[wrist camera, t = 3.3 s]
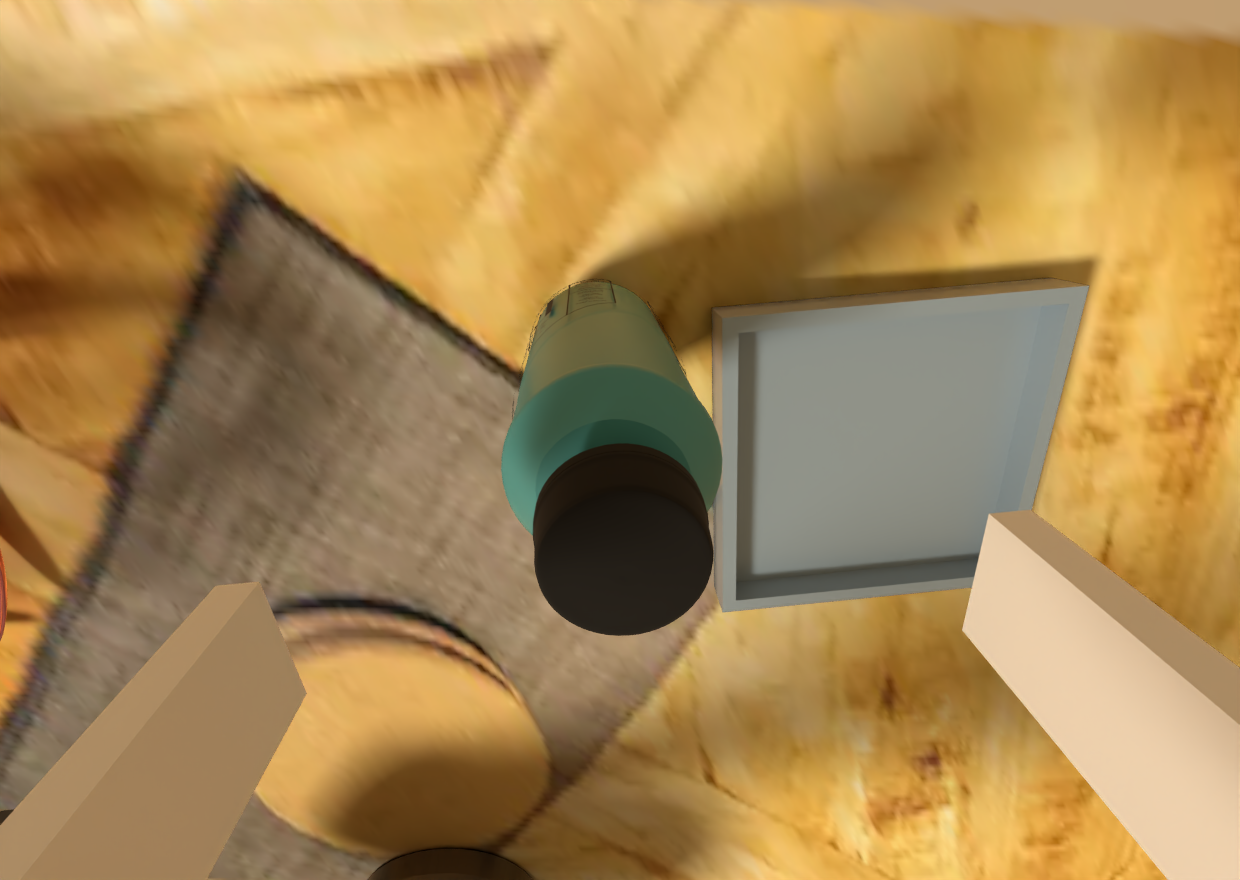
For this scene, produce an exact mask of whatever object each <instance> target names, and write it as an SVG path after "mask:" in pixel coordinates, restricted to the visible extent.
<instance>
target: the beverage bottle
mask: <svg viewBox="0 0 1240 880" xmlns="http://www.w3.org/2000/svg"><path fill="white" fill-rule="evenodd" d="M591 280H594V279H591ZM598 280H604V279H598ZM584 281H585V280H584ZM608 281H609V280H608ZM580 282H581V281H580ZM576 283H577V282H576ZM571 285H572V284H571ZM558 292H559V291H558ZM555 294H556V293H555ZM553 297H554V296H553ZM647 302H648V301H647ZM546 304H547V303H546ZM546 304H544V305H546ZM648 304H649V303H648ZM649 306H650V305H649ZM650 308H651V307H650ZM541 309H543V308H541ZM651 310H652V309H651ZM651 310H650V309H649V308H648V306H647V305H646V304H645V303H644V302H643V301H642V300H641V299H640V298H639V297H638V296H637V295H635V294H634V293H633V292H631V291H629V290H628V289H626V288H623V287H621V286H619V285H615V284H612V283H611V281H610V283H606V282H596V280H595V281H594V282H588V281H587V283H586V281H585V283H583V282H581V284H579V285H576V286H573V287H571V288H570V285H569V289H567V290H565V291H563V292H562V293H560V294H559V295H557V296H556V297H554V298H553V299H552V300H551V301H550V302H549V303H548V304H547V307H546V308H545V310H544V311H543V313H542V315H540V317H539V321H538V324H537V326H536V327H537V328H536V327H535V329H536V331H535V335H534V338H533V336H530V337H532V338H533V342H531V339H529V340H530V342H531V344H532V346H531V349H530V342H528V343H529V349H528V351H529V356H528V360H527V364H526V367H525V371H524V375H523V378H522V382H520V383H521V385H520V390H519V396H518V401H517V406H516V410H515V413H514V418H513V414H512V419H513V421H512V423H511V425H510V428H509V430H508V433H507V436H506V439H505V442H504V447H503V453H502V466H501V471H502V479H503V485H504V489H505V493H506V496H507V498H508V501H509V503H510V506H511V508H512V510H513V511H514V513H515V515H516V517H517V518H518V520H519V521H520V522H521V523H522V525H523V526H524V527H525V528H526V529H527V530H528V531H529V532H530V533H531V534H532V535H533V541H534V546H535V559H534V565H535V573H536V577H537V580H538V583H539V587H540V589H541V591H542V593H543V595H544V597H545V598H546V600H547V601H548V603H549V604H550V605H551V606H552V608H553V609H554V610H555V611H556V612H557V613H559V614H560V615H561V616H562V617H563V618H565V619H566V620H568V621H569V622H571V623H573V624H575V625H576V626H578V627H581V628H583V629H586V630H589V631H592V632H596V633H600V634H606V635H617V636H621V635H636V634H642V633H646V632H650V631H653V630H656V629H659V628H661V627H663V626H666V625H668V624H669V623H671V622H673V621H675V620H676V619H678V618H679V617H680V616H682V615H683V614H685V613H686V612H687V611H688V610H689V609H690V608H691V607H692V606H693V605H694V604H695V602H696V601H697V600H698V599H699V597H700V596H701V594H702V593H703V591H704V589H705V587H706V585H707V583H708V580H709V577H710V574H711V570H712V564H713V545H712V540H711V535H710V531H709V521H708V513H707V512H708V510H709V509H710V507H711V505H712V503H713V501H714V499H715V497H716V494H717V491H718V488H719V485H720V480H721V474H722V460H723V459H722V450H721V444H720V440H719V436H718V433H717V430H716V428H715V426H714V423H713V421H712V419H711V417H710V416H709V414H708V412H707V411H706V409H705V407H704V406H703V405H702V404H701V402H700V401H699V400H698V398H697V397H696V395H695V393H694V391H693V389H692V387H691V386H690V384H689V382H688V380H687V378H686V376H685V375H684V373H685V374H686V372H685V371H684V369H683V368H682V369H683V371H684V373H683V371H682V369H681V367H682V366H681V364H680V363H678V362H679V361H678V359H677V357H676V356H675V354H674V352H673V350H672V348H671V344H669V342H668V341H667V339H666V337H665V336H666V335H664V333H663V332H662V330H665V329H662V330H661V328H660V326H661V325H660V324H658V323H659V322H658V323H657V321H658V320H657V321H656V319H657V318H656V319H655V317H656V316H655V317H654V316H653V314H652V312H653V310H652V312H651ZM653 313H654V312H653ZM655 313H656V312H655ZM538 315H539V314H538ZM654 315H655V314H654ZM657 317H658V316H657ZM535 321H536V320H535ZM659 321H660V319H659ZM661 324H662V323H661ZM659 325H660V326H659ZM533 327H534V326H533ZM662 327H663V326H662ZM535 329H534V330H535ZM532 330H533V329H532ZM666 333H667V331H666ZM531 334H532V332H531ZM667 335H668V333H667ZM670 339H671V338H670ZM670 341H671V340H670ZM671 342H672V341H671ZM672 343H673V342H672ZM674 346H675V345H674ZM527 347H528V346H527ZM675 348H676V346H675ZM675 348H674V349H675ZM526 350H527V349H526ZM676 351H677V350H676ZM526 353H527V352H526ZM525 356H526V354H525ZM526 357H527V356H526ZM524 358H525V357H524ZM681 360H682V359H681ZM523 362H524V361H523ZM682 363H683V362H682ZM522 364H523V363H522ZM679 364H680V365H679ZM680 366H681V367H680ZM683 366H684V365H683ZM521 368H522V367H521ZM520 370H521V369H520ZM520 375H521V374H520ZM519 377H520V376H519ZM520 379H521V378H520ZM514 394H515V393H514ZM513 404H514V401H513ZM513 411H514V410H512V413H513Z"/></svg>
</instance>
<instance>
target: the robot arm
mask: <svg viewBox="0 0 1240 880" xmlns="http://www.w3.org/2000/svg"><path fill="white" fill-rule="evenodd" d="M962 631H963V632H964V633H965V634H966V635H967V637H968V638H969V639H970V640H971V641H972V643H973V644H974V645H975V646H976V648H977V649H978V650H979V651H980V652H981V654H982V655H983V656H984V657H985V658H986V660H987V661H988V662H989V663H990V664H991V666H992V667H993V668H994V669H995V671H996V672H997V673H998V674H999V675H1000V677H1001V678H1002V679H1003V680H1004V681H1005V683H1006V684H1007V685H1008V686H1009V688H1010V689H1011V690H1012V691H1013V692H1014V694H1015V695H1016V696H1017V697H1018V698H1019V700H1020V701H1021V702H1022V703H1023V705H1024V706H1025V707H1026V708H1027V709H1028V711H1029V712H1030V713H1031V714H1032V715H1033V717H1034V718H1035V719H1036V720H1037V722H1038V723H1039V724H1040V725H1041V726H1042V728H1043V729H1044V730H1045V731H1046V732H1047V734H1048V735H1049V736H1050V737H1051V738H1052V740H1053V741H1054V742H1055V743H1056V745H1057V746H1058V747H1059V748H1060V749H1061V751H1062V752H1063V753H1064V754H1065V755H1066V757H1067V758H1068V759H1069V760H1070V762H1071V763H1072V764H1073V765H1074V766H1075V768H1076V769H1077V770H1078V771H1079V772H1080V774H1081V775H1082V776H1083V777H1084V779H1085V780H1086V781H1087V782H1088V783H1089V785H1090V786H1091V787H1092V788H1093V789H1094V791H1095V792H1096V793H1097V794H1098V796H1099V797H1100V798H1101V799H1102V800H1103V802H1104V803H1105V804H1106V805H1107V806H1108V808H1109V809H1110V810H1111V811H1112V812H1113V814H1114V815H1115V816H1116V817H1117V819H1118V820H1119V821H1120V822H1121V823H1122V825H1123V826H1124V827H1125V828H1126V829H1127V831H1128V832H1129V833H1130V834H1131V836H1132V837H1133V838H1134V839H1135V840H1136V842H1137V843H1138V844H1139V845H1140V846H1141V848H1142V849H1143V850H1144V851H1145V853H1146V854H1147V855H1148V856H1149V857H1150V859H1151V860H1152V861H1153V862H1154V863H1155V865H1156V866H1157V867H1158V868H1159V870H1160V871H1161V872H1162V873H1163V874H1164V876H1165V877H1166V878H1167V879H1168V880H1240V668H1239V667H1238V666H1237V665H1235V664H1234V663H1233V662H1231V661H1230V660H1229V659H1227V658H1226V657H1225V656H1224V655H1222V654H1221V653H1220V652H1218V651H1217V650H1216V649H1214V648H1213V647H1212V646H1210V645H1209V644H1208V643H1206V642H1205V641H1204V640H1202V639H1201V638H1200V637H1198V636H1197V635H1196V634H1194V633H1193V632H1192V631H1190V630H1189V629H1188V628H1186V627H1185V626H1184V625H1182V624H1181V623H1180V622H1178V621H1177V620H1176V619H1175V618H1173V617H1172V616H1171V615H1169V614H1168V613H1167V612H1165V611H1164V610H1163V609H1161V608H1160V607H1159V606H1157V605H1156V604H1155V603H1153V602H1152V601H1151V600H1149V599H1148V598H1147V597H1145V596H1144V595H1143V594H1141V593H1140V592H1139V591H1137V590H1136V589H1135V588H1133V587H1132V586H1131V585H1130V584H1128V583H1127V582H1126V581H1124V580H1123V579H1122V578H1120V577H1119V576H1118V575H1116V574H1115V573H1114V572H1112V571H1111V570H1110V569H1108V568H1107V567H1106V566H1104V565H1103V564H1102V563H1100V562H1099V561H1098V560H1096V559H1095V558H1094V557H1092V556H1091V555H1090V554H1088V553H1087V552H1086V551H1085V550H1083V549H1082V548H1081V547H1079V546H1078V545H1077V544H1075V543H1074V542H1073V541H1071V540H1070V539H1069V538H1067V537H1066V536H1065V535H1063V534H1062V533H1061V532H1059V531H1058V530H1057V529H1055V528H1054V527H1053V526H1051V525H1050V524H1049V523H1047V522H1046V521H1045V520H1043V519H1042V518H1041V517H1039V516H1038V515H1037V514H1036V513H1034V512H1033V511H1032V510H1022V511H1012V512H1001V513H990V514H989V515H988V520H987V524H986V528H985V533H984V537H983V542H982V546H981V550H980V555H979V559H978V563H977V568H976V572H975V576H974V581H973V585H972V589H971V594H970V598H969V602H968V607H967V611H966V615H965V620H964V624H963V628H962ZM306 694H307V693H306V691H305V688H304V686H303V684H302V681H301V679H300V677H299V674H298V672H297V669H296V667H295V665H294V662H293V660H292V658H291V655H290V653H289V651H288V648H287V646H286V643H285V641H284V639H283V636H282V634H281V632H280V629H279V627H278V625H277V622H276V620H275V617H274V615H273V613H272V610H271V608H270V606H269V603H268V601H267V598H266V596H265V594H264V591H263V589H262V587H261V584H260V582H251V583H240V584H230V585H219V586H215V587H214V588H213V590H212V591H211V592H210V593H209V594H208V595H207V596H206V597H205V598H204V600H203V601H202V602H201V603H200V604H199V605H198V606H197V607H196V608H195V610H194V611H193V612H192V613H191V614H190V615H189V616H188V617H187V618H186V620H185V621H184V622H183V623H182V624H181V625H180V626H179V627H178V628H177V630H176V631H175V632H174V633H173V634H172V635H171V636H170V637H169V638H168V640H167V641H166V642H165V643H164V644H163V645H162V646H161V647H160V648H159V650H158V651H157V652H156V653H155V654H154V655H153V656H152V657H151V658H150V660H149V661H148V662H147V663H146V664H145V665H144V666H143V667H142V668H141V670H140V671H139V672H138V673H137V674H136V675H135V676H134V677H133V678H132V680H131V681H130V682H129V683H128V684H127V685H126V686H125V687H124V688H123V690H122V691H121V692H120V693H119V694H118V695H117V696H116V697H115V698H114V700H113V701H112V702H111V703H110V704H109V705H108V706H107V707H106V708H105V710H104V711H103V712H102V713H101V714H100V715H99V716H98V717H97V718H96V720H95V721H94V722H93V723H92V724H91V725H90V726H89V727H88V728H87V730H86V731H85V732H84V733H83V734H82V735H81V736H80V737H79V738H78V740H77V741H76V742H75V743H74V744H73V745H72V746H71V747H70V748H69V750H68V751H67V752H66V753H65V754H64V755H63V756H62V757H61V758H60V759H59V761H58V762H57V763H56V764H55V765H54V766H53V767H52V768H51V769H50V771H49V772H48V773H47V774H46V775H45V776H44V777H43V778H42V779H41V781H40V782H39V783H38V784H37V785H36V786H35V787H34V788H33V789H32V791H31V792H30V793H29V794H28V795H27V796H26V797H25V798H24V799H23V801H22V802H21V803H20V804H19V805H18V806H17V807H16V808H15V809H14V810H4V811H0V880H206V879H207V878H208V876H209V874H210V872H211V870H212V868H213V866H214V865H215V863H216V861H217V859H218V857H219V855H220V853H221V852H222V850H223V848H224V846H225V844H226V842H227V840H228V839H229V837H230V835H231V833H232V831H233V829H234V827H235V826H236V824H237V822H238V820H239V818H240V816H241V814H242V813H243V811H244V809H245V807H246V805H247V803H248V801H249V800H250V798H251V796H252V794H253V792H254V790H255V788H256V787H257V785H258V783H259V781H260V779H261V777H262V775H263V774H264V772H265V770H266V768H267V766H268V764H269V762H270V761H271V759H272V757H273V755H274V753H275V751H276V749H277V748H278V746H279V744H280V742H281V740H282V738H283V736H284V735H285V733H286V731H287V729H288V727H289V725H290V723H291V722H292V720H293V718H294V716H295V714H296V712H297V710H298V709H299V707H300V705H301V703H302V701H303V699H304V697H305V696H306ZM368 880H532V878H531V877H530V876H529V875H528V874H527V873H526V872H525V871H523V870H522V869H521V868H519V867H518V866H516V865H515V864H513V863H511V862H509V861H507V860H505V859H502V858H500V857H497V856H494V855H491V854H487V853H483V852H479V851H473V850H465V849H435V850H427V851H421V852H416V853H412V854H409V855H405V856H403V857H400V858H397V859H395V860H393V861H391V862H389V863H387V864H385V865H384V866H382V867H381V868H379V869H378V870H377V871H375V872H374V873H373V874H372V875H371V876H370V877H369V879H368Z"/></svg>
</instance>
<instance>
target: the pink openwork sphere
mask: <svg viewBox="0 0 1240 880" xmlns="http://www.w3.org/2000/svg"><path fill="white" fill-rule="evenodd" d="M6 614H7V580H6V572H5V566H4V561H3V557H2V553H1V550H0V640H1V638H2V635H3V632H4V628H5V622H6Z"/></svg>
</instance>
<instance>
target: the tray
mask: <svg viewBox="0 0 1240 880" xmlns="http://www.w3.org/2000/svg"><path fill="white" fill-rule="evenodd" d="M1088 289H1089V285H1084V284H1079V283H1074V282H1069V281H1065V280H1060V279H1055V278H1042V279H1031V280H1020V281H1008V282H997V283H986V284H974V285H963V286H951V287H940V288H929V289H917V290H906V291H895V292H883V293H872V294H860V295H849V296H838V297H826V298H815V299H804V300H792V301H781V302H769V303H758V304H747V305H735V306H724V307H713V308H712V397H713V423H714V426H715V428H716V430H717V433H718V436H719V440H720V444H721V450H722V459H723V460H722V474H721V480H720V485H719V488H718V491H717V494H716V497H715V499H714V501H713V507H714V587H715V590H716V593H717V596H718V599H719V602H720V605H721V609H722V612H731V611H741V610H751V609H761V608H771V607H781V606H791V605H801V604H811V603H821V602H831V601H841V600H851V599H861V598H871V597H881V596H891V595H901V594H912V593H922V592H932V591H942V590H952V589H962V588H972V585H973V581H974V576H975V572H976V568H977V563H978V559H979V555H980V550H981V546H982V542H983V537H984V533H985V528H986V524H987V520H988V515H989V514H990V513H1001V512H1012V511H1022V510H1032V506H1033V503H1034V499H1035V495H1036V491H1037V487H1038V483H1039V479H1040V475H1041V471H1042V468H1043V464H1044V460H1045V456H1046V452H1047V448H1048V444H1049V440H1050V436H1051V433H1052V429H1053V425H1054V421H1055V417H1056V413H1057V409H1058V405H1059V401H1060V398H1061V394H1062V390H1063V386H1064V382H1065V378H1066V374H1067V370H1068V366H1069V363H1070V359H1071V355H1072V351H1073V347H1074V343H1075V339H1076V335H1077V331H1078V328H1079V324H1080V320H1081V316H1082V312H1083V308H1084V304H1085V300H1086V296H1087V293H1088Z"/></svg>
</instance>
